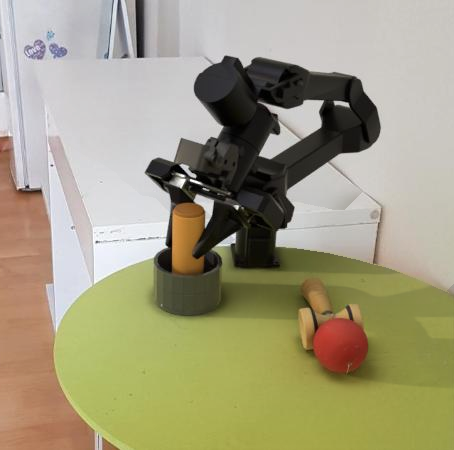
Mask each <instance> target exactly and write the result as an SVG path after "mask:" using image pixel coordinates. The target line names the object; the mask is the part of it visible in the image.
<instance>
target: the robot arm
mask: <svg viewBox="0 0 454 450" xmlns="http://www.w3.org/2000/svg"><path fill="white" fill-rule="evenodd" d="M193 93H194V96H195V98H197V100H198V101H199V103H200V104H202V106H203V107H204V109H205V110H207V112H208V113H209V115H210V116H211V117H212V118H213V120H214V121H215V122H216V123H217V124H218V125H220V126H222V129H221V130H220V132H219V134H218V136H217V137H214V136H210V137H209V138H208V139H207V140H206V142H205V144H204V143H200V142H197V141H193V140H191V139H187V138H184V137H180V140H179V143H178V146H177V148H176V153H175V156H174V159H173V161H172V160H169V159H166V158H163V157H156V158H152V159H151V160H150V162H149V163H148V165H147V167H146V168H145V170H144V172H143V173H144V174H145V176H147V177H148V178H149V180H151V181H152V182H153V183H154V184H155V185H157V187H159V188H160V189H161V191H163V192H165V193H166V194H168V195H169V200H170V207H169V208H170V209H169V219H168V225H167V230H166V237H165V243H164V244H165V246H166V248H172V224H173V210H174V208H175V207H176V206H177V205H179V204H182V203H195V204H197V203H196V202H195V199H196V197H197V195H198V196H200V197H203V198H206V199H209V200H212V201H213V204H212V205H213V206H212V213H211V216H210V218H209V220H208V223H207V224H206V225H205V229H204V231H203V233H202V235H201V237H200V239H199V240H198V242H197V244H196V246H195V249H194V251H193V254H192V256H193V257H194V258H195V259H199V258H200V257H202V256H203V255H204V254H206V253H207V252H208V251H210V250H211V249H212V250H213V249H214V248H215V247H216V246H218V245H219V244H221V243H222V242H223V241H225V240H226V239H227V238H230V237H231V236H233V235H234V234H235V239H234V240H235V241H234V242H231V243H230V253H231V259H232V264H233V267H235V268H280V267H281V261H280V257H279V254H278V250H277V247H276V244H277V233H278V232H279V230H285V229H287V228H288V224H289V223H291V222H292V219H293V217H294V212H295V210H296V209H295V206H294V204H293V203H292V201H290V199H289V198H288V197H287V194H288V191H289V190H290V189H291V188H292V187H294V186H295V185H297V184H298V183H299V182H302V181H303V180H304V179H306V178H307V177H308V176H310V175H312V174H313V173H314V172H316V171H317V170H319V169H320V168H322V167H323V166H325V165H326V164H327V163H329V162H330V161H332V160H333V159H335V158H337V157H338V156H339V155H341V154H343V155H344V154H358V153H362V152H364V151H366V150H368V149H370V148H371V147H372V146H373V145H374V144H375V143H376V142H377V141H378V139H379V138H380V135H381V129H382V126H381V125H382V124H381V120H380V115H379V111H378V107H377V106H376V104H375V103H374V102H373V100H372V99H371V98H370V97H369V96H368V94H367V93H366V92H365V91H364V85H363V82H362V79H360V78H358V77H357V76H355V75H352V74H346V73H341V72H337V71H333V72H323V71H314V70H313V71H312V70H311V71H310V70H309V69H306V68H305V67H303V66H300V65H299V64H296V63H295V64H294V63H291V62H284V61H281V60H276V59H271V58H266V57H262V56H257V57H254V58H252V60H250V63H249V64H248V65H246V66H244V65H243V62H242V61H241V60H240V58H239V57H236V56H231V55H224V56H223V57H222V60H221V61H220V62H217V63H213V64H211V65H210V66H208V67H206V68H205V69H204V70H203V71H202V72H199V73H198V74H197V76H196V77H195V80H194V83H193ZM305 101H323V102H322V104H321V106H320V108H319V110H318V115H319V117H320V122H321V124H320V127H319V128H317V130H315V131H313V132H311V133H310V134H308V135H307V136H305V137H303V138H302V139H301V140H298V141H297V142H296V143H294V144H292V145H291V146H289V147H288V148H286V149H284V150H283V151H281V152H279V153H278V154H276V155H275V156H273V157H272V158H268V157H264V156H261V155H260V154H261V152H262V150H263V149H264V146H265V145H266V142H267V141H268V139H269V137H270V135H275V136H280V135H281V124H280V123H279V115H278V114H279V113H278V114H277V113H275V112H271V110H270V109H269V107H268V106H266V105H269V106H273V107H276V108H281V109H285V110H291V109H294V108H297V107H301V106H303V105H304V103H305ZM335 102H341V103H342V102H343V103H346V104H348V106H347V105H342V104H335ZM181 165H185V166H188V167H187V170H188V171H189V172H190V173H191V174H193V175H195V177H193V176H191V175H190V174H189V173H188V172H187V171H186V170H185V169H184V168H183V167H182V166H181Z"/></svg>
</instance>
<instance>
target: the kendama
mask: <svg viewBox="0 0 454 450" xmlns="http://www.w3.org/2000/svg"><path fill="white" fill-rule="evenodd" d="M300 291H301V294H302V296H303V298H305V300H306V301H307V303H308V304H309V306H310V307H311V308H310V307H302V308H299V309H298V311H297V312H298V318H297V319H298V327H299V333H300V337H301V342H302V346H303V348H304V350H306V351H309V350H313V353H314V355H315V358H316V359H317V361H318V363H320V365H321V366H322V367H323V368H325V369H326V370H328V371H330V372H333V373H338V374H348V373H351V372H353V371H355V370H357V369H359V368H360V366H361V365H363V363H364V362H365V360H366V358H367V355H368V352H369V341H368V340H369V339H368V337H367V334H366V332H365V327H364V320H363V315H362V311H361V309H360V306H359V305H358V303H348V304H347V305H346V306H345V308H343V309H342V310H340V311H339V312H337V313H334V312H333V306H332V303H331V301H330V299H329V296H328V294H327V292H326V289H325V285H324V283H323V281H322V280H321V279H320V278H318V277H309V278H306V279H305V280H304V281H303V283H301V288H300Z"/></svg>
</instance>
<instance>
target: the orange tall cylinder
mask: <svg viewBox="0 0 454 450" xmlns="http://www.w3.org/2000/svg"><path fill="white" fill-rule="evenodd" d="M195 203H196V202H195ZM195 203H182V204H179V205H177V206H176V207H175V208H174V210H173V224H172V273H174V274H179V275H199V274H204V255H203V256H202V257H200V258H199V259H195V258H194V257H193V256H192V254H193V251H194V249H195V246H196V244H197V242H198V240H199V239H200V237H201V235H202V233H203V231H204V229H205V228H206V210H205V208H204V206H202V205H201V204H199V203H196V204H195Z"/></svg>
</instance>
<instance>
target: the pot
mask: <svg viewBox="0 0 454 450" xmlns="http://www.w3.org/2000/svg"><path fill="white" fill-rule="evenodd" d="M222 280H223V258H222V256H221V255H220V253H218V252H217V251H215V250H214V249H213V248H212V249H211V250H210V251H208V252H207V253H206V254H204V274H199V275H179V274H174V273H172V248H168V247H165V248H163V249H161V250H160V251H158V252H157V253H156V254H155V255H154V257H153V300H154V304H155V305H156V306H157V307H158V308H159V309H161V310H162V311H164V312H166V313H169V314H173V315H177V316H185V317H186V316H187V317H189V316H200V315H204V314H206V313H210V312H211V311H213V310H214V309H216V308H217V307H218V306H219V304H220V302H221V298H222V285H223V284H222V282H223V281H222Z"/></svg>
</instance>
